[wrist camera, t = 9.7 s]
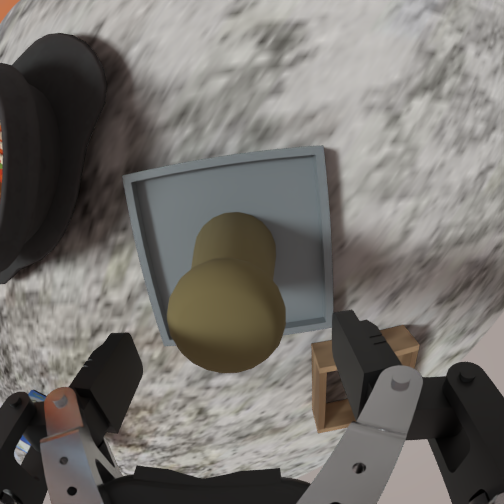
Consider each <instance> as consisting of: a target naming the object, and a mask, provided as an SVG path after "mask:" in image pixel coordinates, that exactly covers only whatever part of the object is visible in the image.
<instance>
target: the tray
mask: <svg viewBox="0 0 504 504" xmlns="http://www.w3.org/2000/svg"><path fill="white" fill-rule="evenodd" d="M122 177H123V183H124V189H125V195H126V200H127V206H128V211H129V216H130V221H131V226H132V230H133V235H134V239H135V244H136V248H137V252H138V257H139V261H140V265H141V269H142V273H143V276H144V280H145V284H146V288H147V291H148V295H149V298H150V302H151V305H152V309H153V312H154V315H155V319H156V322H157V325H158V328H159V331H160V334H161V338H162V341H163V344H164V346H177V345H176V344H175V342H174V341H173V339H172V337H171V336H170V332H169V327H168V323H167V311H168V303H169V298H170V296H171V294H172V292H173V290H174V289H175V287H176V285H177V283H178V282H179V280H180V278H181V277H182V276H184V275H185V274H186V273H187V272H188V271H189V270H191V266H192V259H193V252H194V247H195V242H196V237H197V235H198V234H199V232H200V230H201V229H202V227H203V226H204V225H205V224H206V223H207V222H208V221H210V220H211V219H212V218H214V217H216V216H218V215H221V214H223V213H230V212H241V213H245V214H249V215H252V216H253V217H255V218H257V219H258V220H260V221H262V222H263V223H264V224H265V226H266V227H267V228H268V229H269V230H270V232H271V234H272V236H273V239H274V241H275V244H276V261H275V269H274V277H273V281H274V283H275V284H276V285H277V286H278V288H279V291H280V293H281V296H282V298H283V301H284V304H285V307H286V326H285V330H284V333H283V335H288V334H295V333H302V332H308V331H315V330H321V329H327V328H332V314H333V269H332V245H331V227H330V212H329V198H328V187H327V176H326V166H325V157H324V148H323V145H322V146H308V147H296V148H285V149H275V150H266V151H257V152H249V153H241V154H234V155H227V156H220V157H214V158H208V159H202V160H196V161H190V162H185V163H179V164H174V165H169V166H164V167H159V168H154V169H149V170H145V171H140V172H136V173H132V174H127V175H123V176H122Z"/></svg>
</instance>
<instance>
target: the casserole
mask: <svg viewBox="0 0 504 504" xmlns="http://www.w3.org/2000/svg"><path fill="white" fill-rule="evenodd" d="M106 88H107V82H106V78H105V74H104V69H103V66H102V65H101V63H100V61H99V59H98V57H97V55H96V53H95V52H94V51H93V50H92V49H91V48H90V47H89V45H88V44H87V43H86V42H84V41H83V40H81V39H79V38H77V37H75V36H73V35H68V34H63V33H56V34H48V35H46V36H44V37H42V38H40V39H38V40H36V41H35V42H34V43H33V44H32V45H31V46H30V47H29V48H28V49H27V50H26V51H25V52H24V53H23V54H22V55H21V56H20V57H19V58H18V59H17V60H16V61H15V62H14V64H13V65H8V64H3V63H0V284H6V283H7V282H8V281H9V280H10V279H11V278H12V277H13V276H14V275H15V274H16V273H17V272H18V271H19V270H20V269H23V268H25V267H27V266H29V265H31V264H33V263H35V262H37V261H40V260H42V259H43V258H44V257H45V256H46V255H47V254H48V253H50V252H51V251H52V250H53V249H54V247H55V246H56V245H57V243H58V242H59V240H60V239H61V238H62V236H63V235H64V232H65V230H66V228H67V226H68V224H69V222H70V219H71V217H72V214H73V211H74V208H75V204H76V201H77V198H78V194H79V188H80V181H81V175H82V170H83V164H84V159H85V154H86V149H87V145H88V143H89V140H90V137H91V135H92V132H93V130H94V127H95V125H96V122H97V120H98V118H99V115H100V113H101V111H102V108H103V106H104V104H105V98H106Z"/></svg>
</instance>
